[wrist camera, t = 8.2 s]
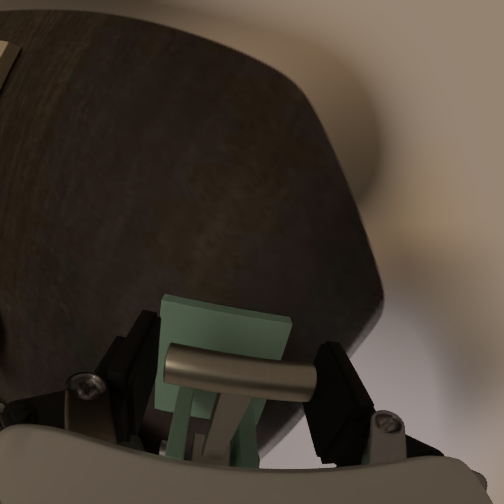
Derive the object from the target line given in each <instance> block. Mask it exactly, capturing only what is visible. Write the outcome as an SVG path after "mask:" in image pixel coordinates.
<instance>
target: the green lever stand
mask: <svg viewBox="0 0 504 504" xmlns="http://www.w3.org/2000/svg"><path fill="white" fill-rule="evenodd" d="M160 317H161V328H160V341H159V354H158V370H157V375H156V380H155V409H159V410H164V411H168V412H173V418H172V423H171V427H170V432H169V437H168V441H164V440H162V441H161V444H160V449H159V455H161V456H165V457H170V458H175V459H181V460H184V456H185V449H186V441H187V434H188V428H189V421H190V416H194V417H199V418H205V419H210V416H211V413H212V409H213V405H214V402H215V398H216V395H217V393H216V392H210V391H204V390H198V389H193V388H187V387H182V386H178V385H173V384H168V383H165V382H164V380H163V373H164V365H165V359H166V355H167V350H168V347H169V345H170V343H171V342H174V343H179V344H183V345H188V346H193V347H198V348H204V349H209V350H215V351H220V352H226V353H232V354H239V355H245V356H252V357H259V358H266V359H274V360H281V358H282V355H283V352H284V349H285V346H286V343H287V340H288V337H289V334H290V331H291V328H292V325H293V324H292V321H291V318H290V317H287V316H281V315H274V314H268V313H262V312H256V311H250V310H245V309H239V308H234V307H228V306H223V305H217V304H212V303H207V302H202V301H197V300H192V299H187V298H182V297H178V296H173V295H168V294H165V295H164V297H163V298H162V300H161V310H160ZM266 400H267V399H261V398H251V400H250V403H249V405H248V407H247V409H246V411H245V413H244V415H243V417H242V419H241V421H240V423H239V425H238V427H237V429H236V431H235V433H234V435H233V437H232V439H231V451H230V466H232V467H244V468H259V463H260V459H259V455H258V450H257V438H256V427H255V425H257V424H258V422H259V419H260V416H261V414H262V411H263V408H264V406H265V403H266Z"/></svg>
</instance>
